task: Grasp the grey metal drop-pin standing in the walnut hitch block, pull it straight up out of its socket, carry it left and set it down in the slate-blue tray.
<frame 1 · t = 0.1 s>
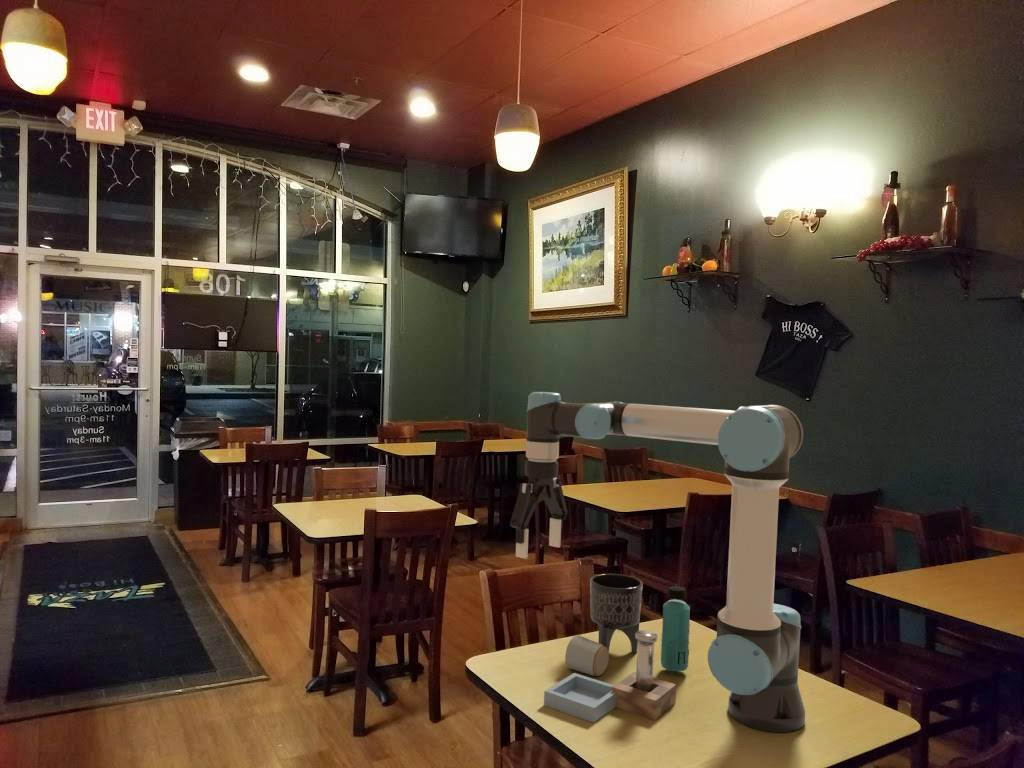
hand: (538, 551, 176), 28 cm above the table, fingers open, 13 cm apart
tray: (583, 703, 161), on the table
pin: (644, 669, 162), in the hitch block
beverage bottle: (673, 673, 179), on the table
planter: (613, 652, 191), on the table
ceramic mug: (588, 670, 179), on the table
hitch block: (643, 704, 162), on the table
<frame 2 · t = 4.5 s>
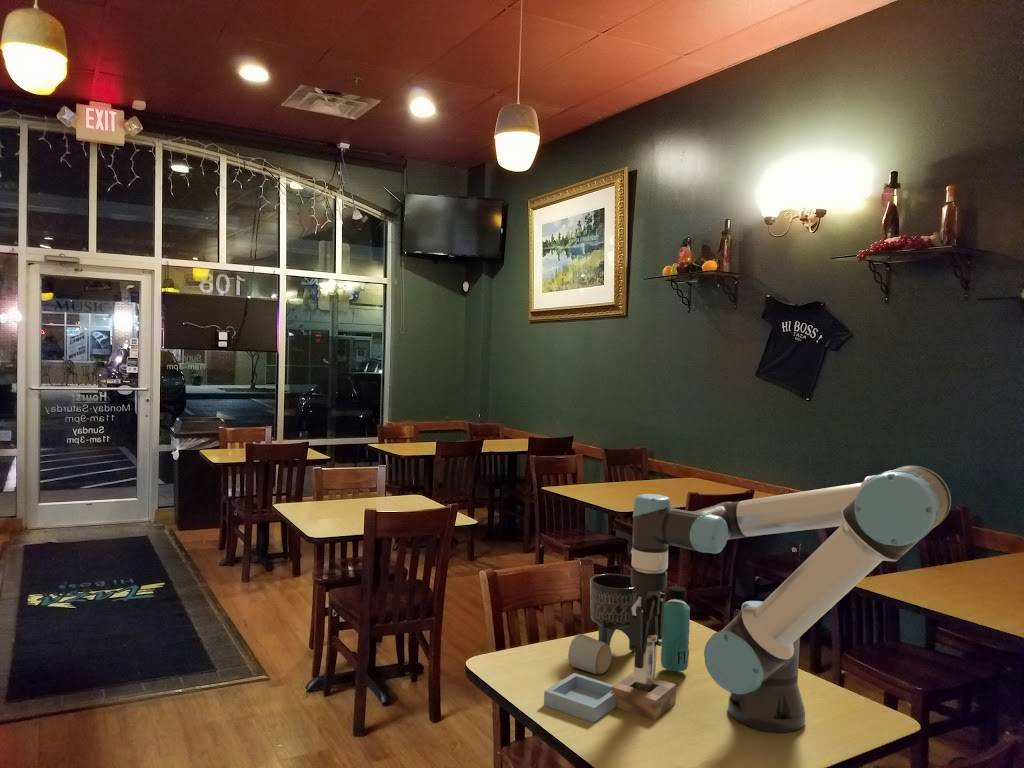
hand: (644, 678, 162), 6 cm above the table, fingers closed on pin, 3 cm apart
pin: (644, 669, 162), in the hitch block, touching gripper
ceramic mug: (591, 669, 180), on the table
everything else where it was.
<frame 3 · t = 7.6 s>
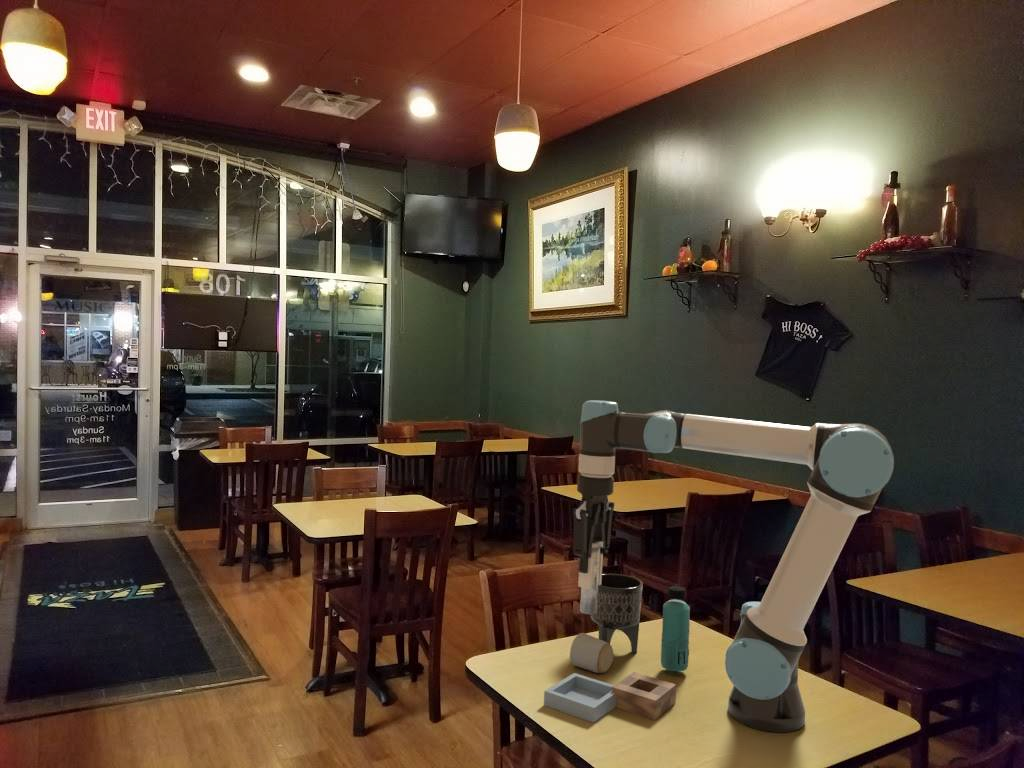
hand: (589, 585, 161), 25 cm above the table, fingers closed on pin, 3 cm apart
pin: (590, 576, 161), point 27 cm above the table, touching gripper
when the fingers open (7 cm above the table, at t = 11.0 s): pin drops 1 cm, resting on tray.
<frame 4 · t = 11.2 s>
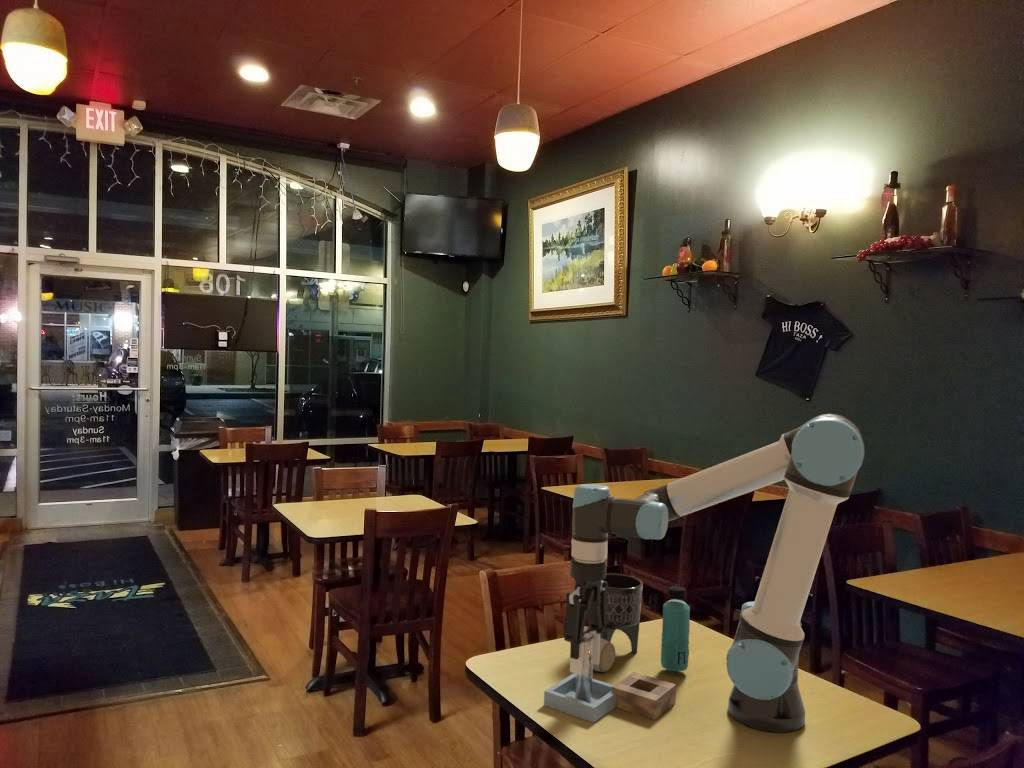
hand: (584, 667, 161), 8 cm above the table, fingers open, 6 cm apart
pin: (584, 665, 161), in the tray, point 8 cm above the table
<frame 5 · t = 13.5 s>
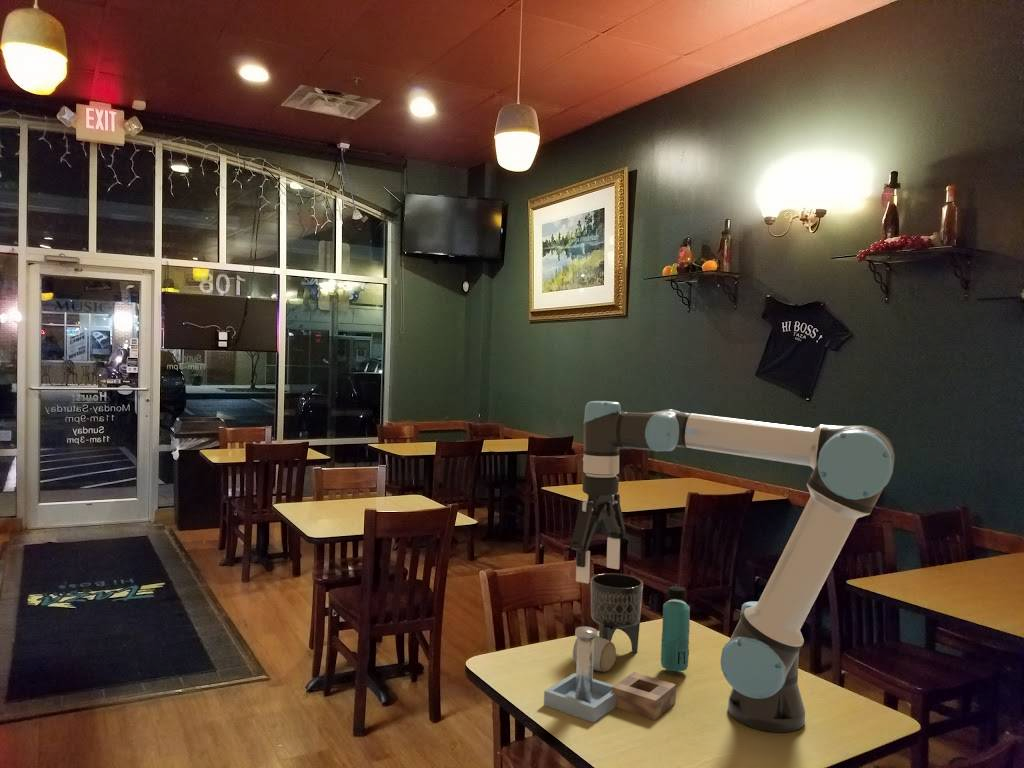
hand: (598, 574, 162), 27 cm above the table, fingers open, 13 cm apart
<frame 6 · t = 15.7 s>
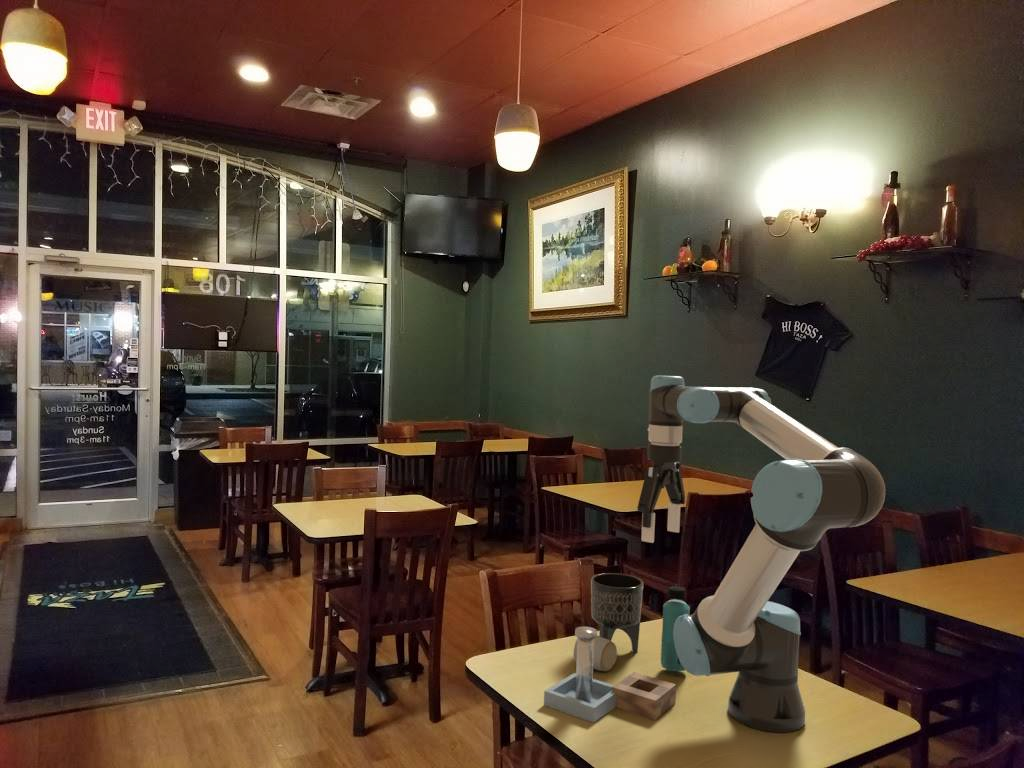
hand: (660, 536, 174), 33 cm above the table, fingers open, 13 cm apart
at the end: pin inside the target area on the tray (0.0 cm from its centre), point 8.1 cm above the tray's base; the gripper is holding nothing; pin moved 12.8 cm from its start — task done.
